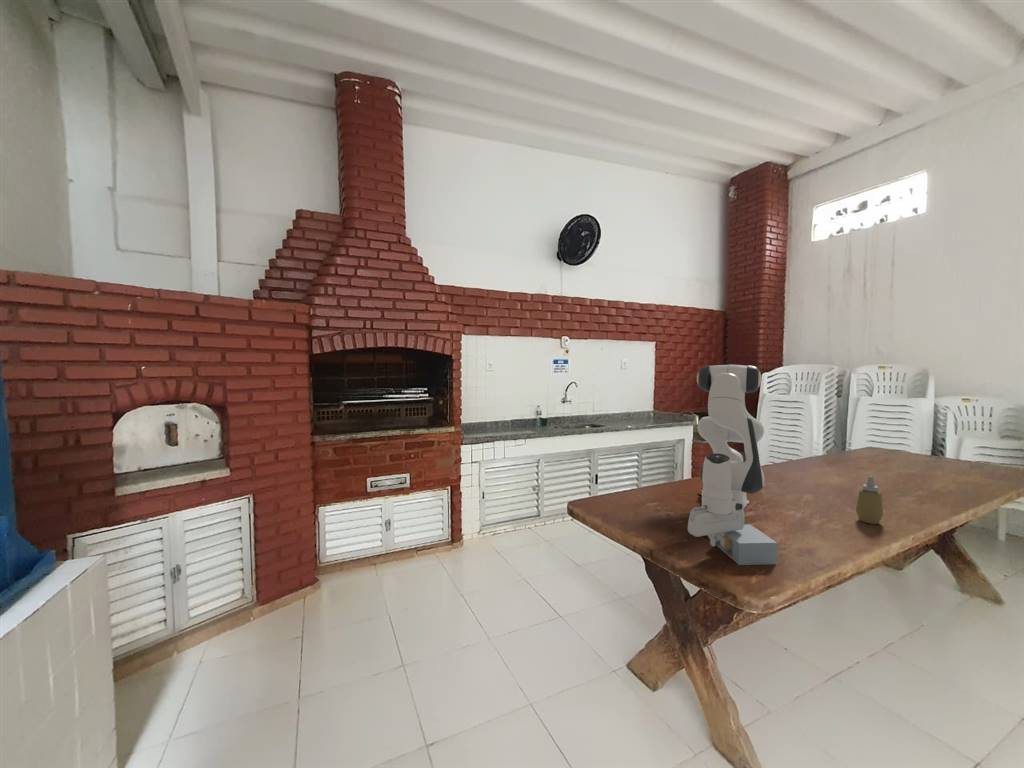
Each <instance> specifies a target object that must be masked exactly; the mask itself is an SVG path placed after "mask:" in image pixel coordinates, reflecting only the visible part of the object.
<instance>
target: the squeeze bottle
mask: <svg viewBox="0 0 1024 768" xmlns="http://www.w3.org/2000/svg"><path fill="white" fill-rule="evenodd" d="M855 511H856V513H857V516H858V517H857V518H858V520H859V521H861V522H862V523H866V524H871V525H878V524H879V523H880V522H881V520H882V518H883V516H884V510H883V499H882V493H881V492H880V491H879V486H878V485H875V480H874V477H873V476H871V475H869V476H868V478H867V481H866V483H864V484H862V489H860V490H858V496H857V501H856V507H855Z"/></svg>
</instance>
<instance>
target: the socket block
mask: <svg viewBox="0 0 1024 768" xmlns="http://www.w3.org/2000/svg"><path fill="white" fill-rule="evenodd" d="M717 534H718V533H717ZM717 534H716V536H717ZM723 538H728V539H729V540H730V541H731V550H730V551H726V550H724V548H723V546H722V540H721V545H719V546H717V547H718V548H719V549H720V550H721V551H722V552H723V553H724V554H726V555H727V556H728V557H729V558H730V559H732V560H733V562H735V563H736V564H737V565H738V566H752V565H753V566H754V565H757V566H758V565H760V566H761V565H777V560H778V558H777V557H778V556H777V555H778V542H777V541H775V540H774V539H773V538H771V537H769V536H768V535H766V533H763V532H762V531H761V530H759V529H757V528H756V526H755V527H754V526H753V525H751V524H745V525H744V527H743V529H742V530H736V531H730V532H725V535H724V537H723Z"/></svg>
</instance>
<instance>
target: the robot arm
mask: <svg viewBox="0 0 1024 768" xmlns="http://www.w3.org/2000/svg"><path fill="white" fill-rule="evenodd" d="M696 383H697V385H698V388H699V389H700V390H701V391H704V392H707V393H708V399H707V410H708V411H707V413H708V416H703V417H701V418H700V419H699V421H698V422H697V426H696V427H697V432H698V434H699V436H700V437H701V438H702V439H704V440H705V441H706V443H708V445H709V446H710V447H711V450H712V453H708V454H707V455H705V457H704V462H703V463H702V464H701V466H700V481H701V482H702V486H703V487H702V490H701V491H702V497H701V506H695V507H693V508H692V509H691V510H690V511H689V516H688V522H687V531H688V533H689V534H690V535H692V536H694V537H696V538H698V537H705V535H708V537H709V540H710V541H709V545H710V546H712V547H718V546H719V545H721V540H722V539H723V537H724V535H725V532H730V531H736V530H742V529H743V527H744V523H745V524H746V522H745V519H746V518H745V517H746V516H745V511H744V510H745V508H747V505H749V504H750V501H749V500H748V498H747V494H749V495H754V494H756V493H758V492H760V491H762V490H763V487H764V486H765V474H764V471H763V467H762V466H761V462H760V454H759V453H760V452H759V449H758V442H760V441H761V439H762V438H763V436H764V434H765V429H764V425H763V424H762V422H761V421H760V420H758V419H757V418H755V417H754V416H752V415H751V414H750V413H749V412H748V409H747V407H746V399H745V398H746V397H745V396H746V394H750V393H754V392H755V393H756V391H758V390H759V388H760V386H761V384H762V374H761V372H760V369H759V368H758V367H757V366H754V365H750V364H749V365H742V364H718V365H710V364H708V365H703V366H701V367H700V368H699V369H698V372H697V375H696ZM745 393H746V394H745ZM728 442H731V443H742V444H743V448H744V454H745V461H744V456H743V455H742V453H740V452H739V451H737V450H736V449H734V448H732V447H730V446H729V444H728ZM717 533H718V534H717ZM716 534H717V536H716ZM715 536H716V538H714V537H715Z"/></svg>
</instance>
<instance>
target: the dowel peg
mask: <svg viewBox="0 0 1024 768" xmlns="http://www.w3.org/2000/svg"><path fill="white" fill-rule="evenodd" d="M722 546H723V548H724V550H726V551H730V550H731V541H730V540H729V539H728V538H723V539H722Z"/></svg>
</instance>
